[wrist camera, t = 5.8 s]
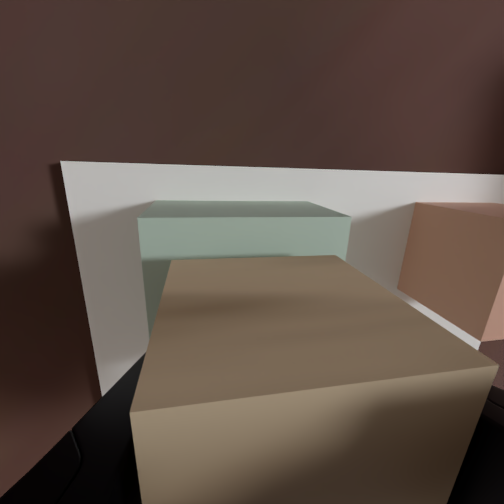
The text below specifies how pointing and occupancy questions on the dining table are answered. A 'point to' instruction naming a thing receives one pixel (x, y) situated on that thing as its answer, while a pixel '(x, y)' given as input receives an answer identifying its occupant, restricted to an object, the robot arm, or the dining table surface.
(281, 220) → the pedestal
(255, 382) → the beech cube
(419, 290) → the terracotta cube
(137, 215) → the board
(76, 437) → the robot arm
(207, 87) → the dining table surface
